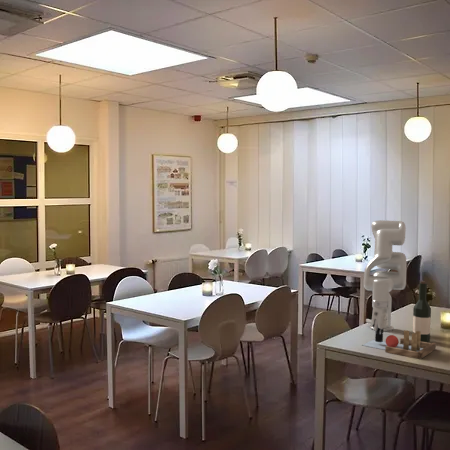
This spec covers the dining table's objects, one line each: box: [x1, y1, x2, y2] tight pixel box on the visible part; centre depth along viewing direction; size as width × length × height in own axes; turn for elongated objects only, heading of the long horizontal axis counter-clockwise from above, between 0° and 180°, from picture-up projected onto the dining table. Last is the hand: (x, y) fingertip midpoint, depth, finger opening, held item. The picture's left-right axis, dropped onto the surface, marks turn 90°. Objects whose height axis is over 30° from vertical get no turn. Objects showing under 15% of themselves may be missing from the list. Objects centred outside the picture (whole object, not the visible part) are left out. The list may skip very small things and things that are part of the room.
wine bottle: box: [412, 280, 432, 343], centre depth 273 cm, size 8×8×30 cm
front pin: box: [402, 329, 410, 350], centre depth 256 cm, size 2×2×9 cm
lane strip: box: [362, 339, 423, 352], centre depth 260 cm, size 28×14×1 cm, turn 52°
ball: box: [385, 334, 400, 348], centre depth 260 cm, size 6×6×6 cm
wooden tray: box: [384, 337, 437, 360], centre depth 255 cm, size 16×21×3 cm
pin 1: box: [410, 332, 417, 352], centre depth 252 cm, size 2×2×9 cm
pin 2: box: [415, 331, 421, 351], centre depth 256 cm, size 2×2×9 cm
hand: (378, 341), depth 265 cm, fingers closed
